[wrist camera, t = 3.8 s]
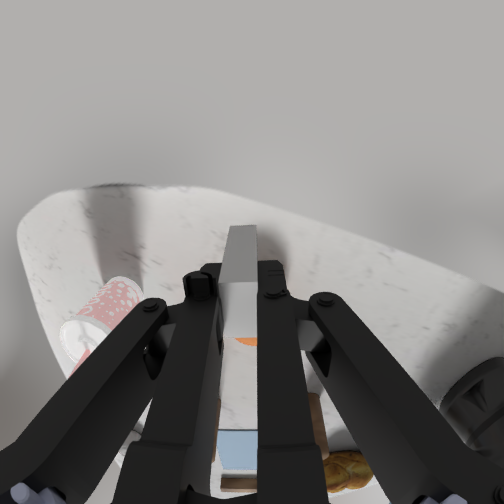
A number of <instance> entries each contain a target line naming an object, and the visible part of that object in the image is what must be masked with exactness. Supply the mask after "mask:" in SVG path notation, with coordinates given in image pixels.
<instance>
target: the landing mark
mask: <svg viewBox="0 0 504 504" xmlns="http://www.w3.org/2000/svg"><path fill="white" fill-rule="evenodd" d="M217 448H218V452H219V456H220V459H221V463H222V466H223V469H237V470H257V448H258V430H218V435H217Z"/></svg>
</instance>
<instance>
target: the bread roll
mask: <svg viewBox="0 0 504 504" xmlns="http://www.w3.org/2000/svg"><path fill="white" fill-rule="evenodd" d="M323 465H324V472H325V479H326V486H327V492H331V493H335V492H339V491H342V490H343V489H345V488H348V489H359V488H362V487H364V486H366V485H367V483H368V482H369V481H370V480H371V479H372V477H373V475H374V474H373V472H372V470H371V468H370V467H369V465H368V463H367V461H366V460H365V458H364V456H363V454H362V453H361V452H359V453H358V452H352V451H340V452H334V453H330V454H329V456H328V457H327V458H326V459H324V460H323Z"/></svg>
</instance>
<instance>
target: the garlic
mask: <svg viewBox="0 0 504 504" xmlns="http://www.w3.org/2000/svg"><path fill="white" fill-rule="evenodd" d="M140 438H141V435H140V434H139V433H137V432H135V431H133V430H132V431H131V432H130V434H129V435H128V437H127V439H126V440H125V442H124V443H123V445H122V447H121V448H120V450H119V451H118V452H119V453H121V454H122V455H124V456H125V454H126V451H127V448H128V446H129V444H130V443H131V442H132V441H138V440H139V439H140Z"/></svg>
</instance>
